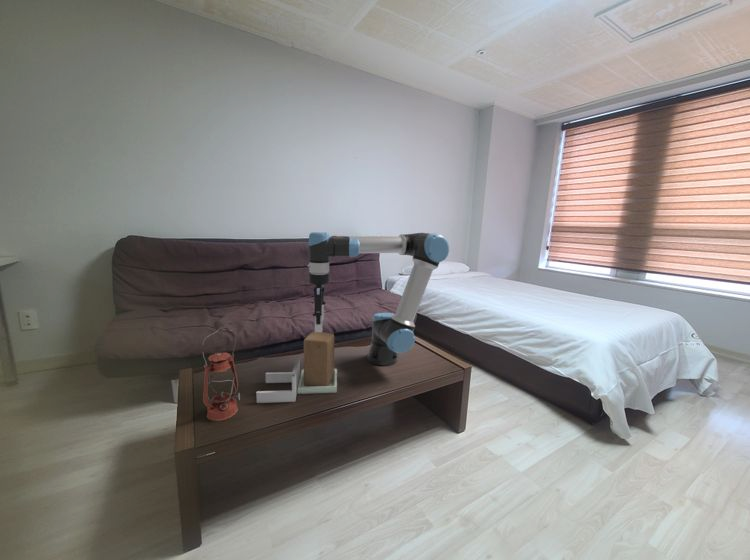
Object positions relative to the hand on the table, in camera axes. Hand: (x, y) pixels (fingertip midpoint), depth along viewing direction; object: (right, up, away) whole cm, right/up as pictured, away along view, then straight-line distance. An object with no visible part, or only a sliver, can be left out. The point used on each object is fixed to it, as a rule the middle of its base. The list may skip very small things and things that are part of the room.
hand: (319, 325), depth 120 cm
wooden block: (-1, -24, +4) cm, 24 cm away
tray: (-1, -24, +4) cm, 25 cm away
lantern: (-30, -27, -16) cm, 44 cm away
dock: (-16, -25, -2) cm, 30 cm away
